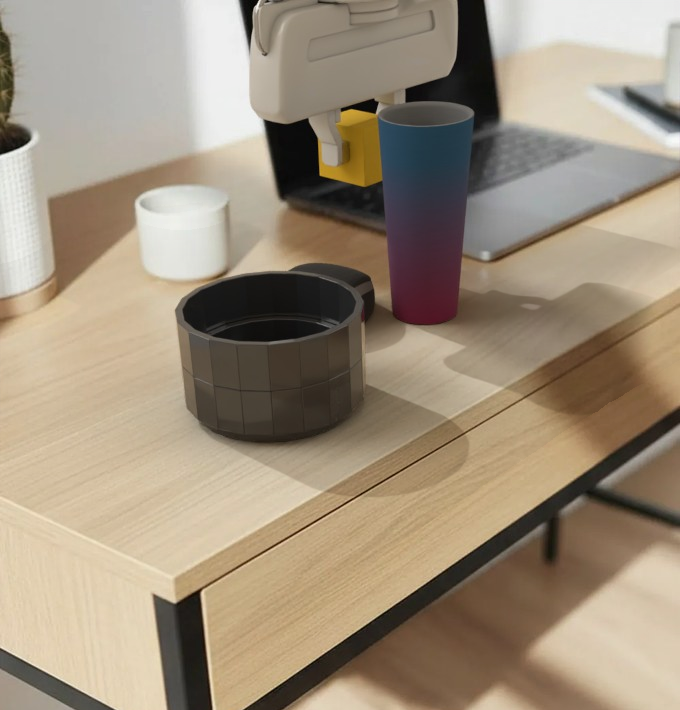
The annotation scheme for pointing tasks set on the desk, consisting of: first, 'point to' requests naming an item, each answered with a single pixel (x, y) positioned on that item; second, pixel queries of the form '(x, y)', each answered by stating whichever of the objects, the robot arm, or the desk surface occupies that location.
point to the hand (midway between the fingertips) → (359, 156)
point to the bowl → (272, 354)
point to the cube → (357, 150)
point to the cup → (425, 205)
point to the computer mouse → (345, 280)
